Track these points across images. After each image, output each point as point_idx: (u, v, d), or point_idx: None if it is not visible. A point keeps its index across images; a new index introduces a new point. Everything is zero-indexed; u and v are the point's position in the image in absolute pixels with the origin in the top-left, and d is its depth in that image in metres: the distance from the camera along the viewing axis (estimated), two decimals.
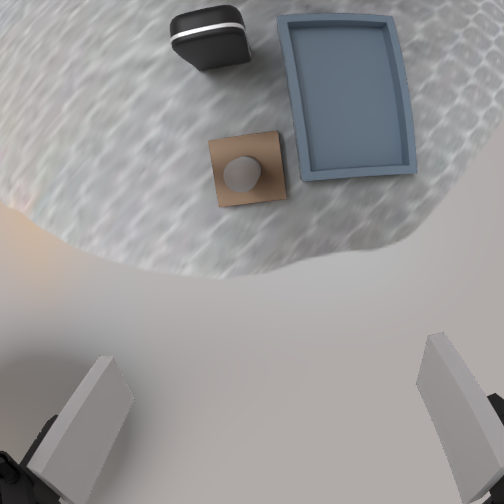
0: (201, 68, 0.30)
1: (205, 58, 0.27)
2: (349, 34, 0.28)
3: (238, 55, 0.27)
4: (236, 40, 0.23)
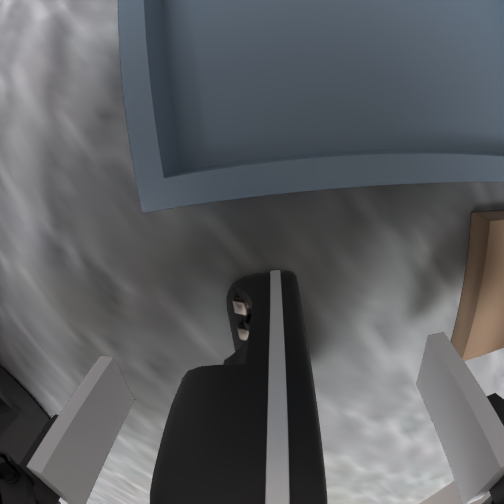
0: None
1: None
2: None
3: None
4: None
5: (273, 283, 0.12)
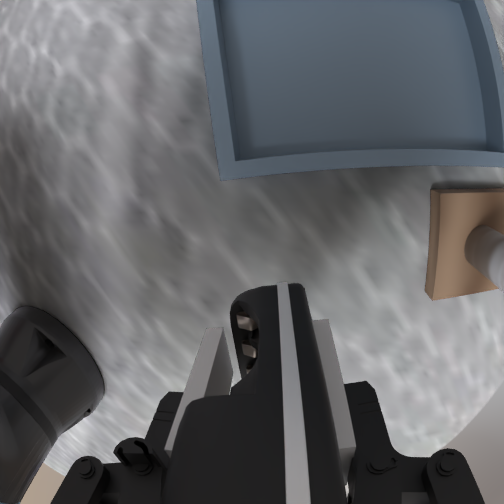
0: None
1: None
2: (243, 46, 0.16)
3: None
4: None
5: (281, 297, 0.11)
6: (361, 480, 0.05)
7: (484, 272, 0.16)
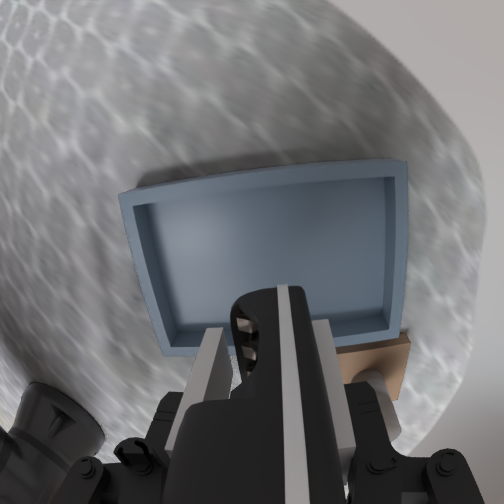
0: None
1: None
2: (169, 253, 0.23)
3: None
4: None
5: (281, 299, 0.11)
6: (361, 480, 0.05)
7: None
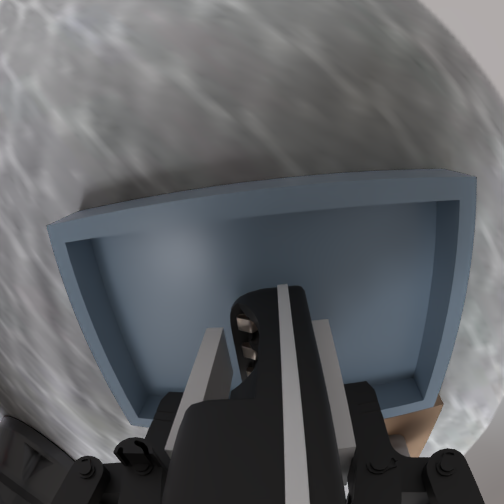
0: None
1: None
2: (126, 303, 0.16)
3: None
4: None
5: (281, 299, 0.11)
6: (361, 480, 0.05)
7: None
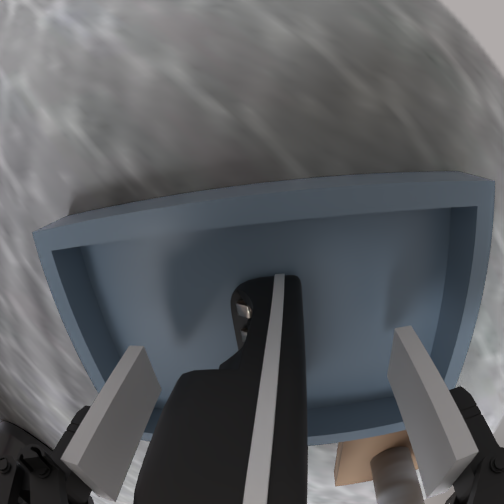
0: None
1: None
2: (118, 313, 0.15)
3: None
4: None
5: (276, 287, 0.12)
6: (483, 477, 0.04)
7: None
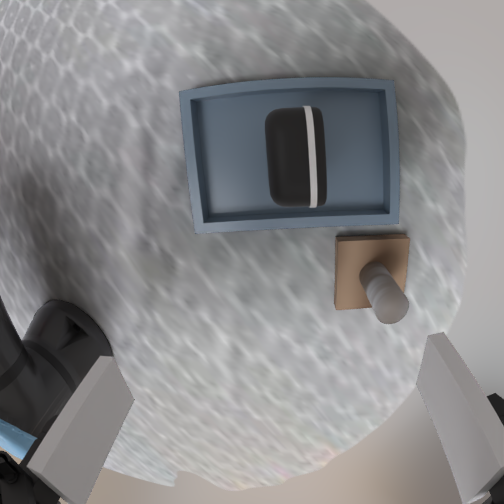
0: None
1: None
2: (212, 143, 0.28)
3: None
4: None
5: None
6: None
7: None
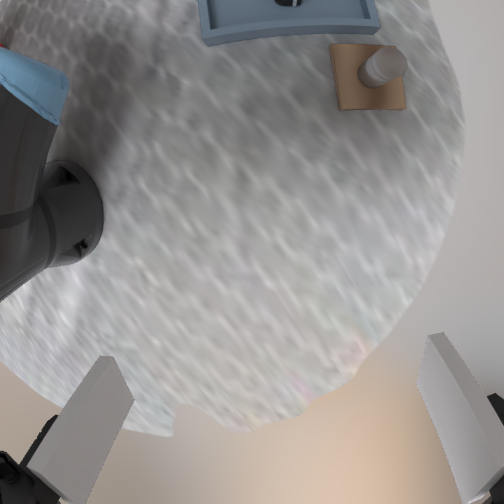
0: None
1: None
2: None
3: None
4: None
5: None
6: None
7: (367, 76, 0.26)
